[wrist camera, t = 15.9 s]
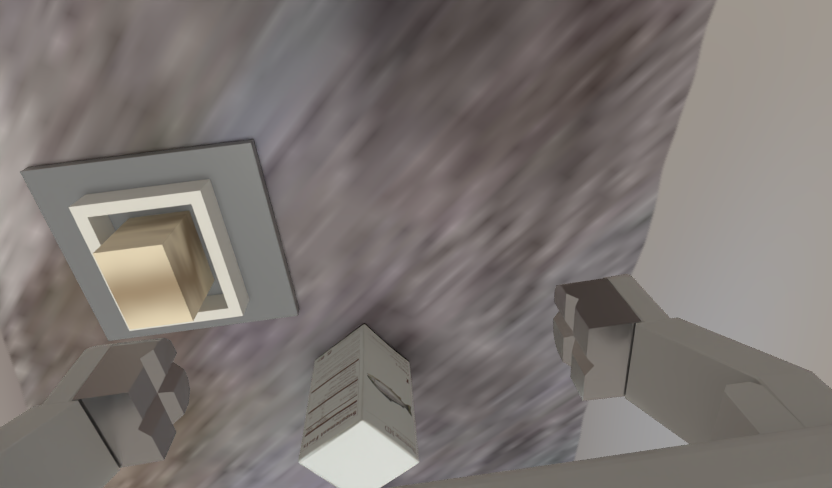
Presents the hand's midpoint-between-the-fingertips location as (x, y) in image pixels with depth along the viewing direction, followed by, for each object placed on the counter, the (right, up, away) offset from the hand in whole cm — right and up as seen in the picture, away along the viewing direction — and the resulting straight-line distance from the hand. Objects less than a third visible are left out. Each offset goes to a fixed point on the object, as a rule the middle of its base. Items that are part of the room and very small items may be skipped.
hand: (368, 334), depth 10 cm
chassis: (-20, +2, +33) cm, 38 cm away
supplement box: (-5, -10, +41) cm, 42 cm away
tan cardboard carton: (-20, +1, +32) cm, 37 cm away
